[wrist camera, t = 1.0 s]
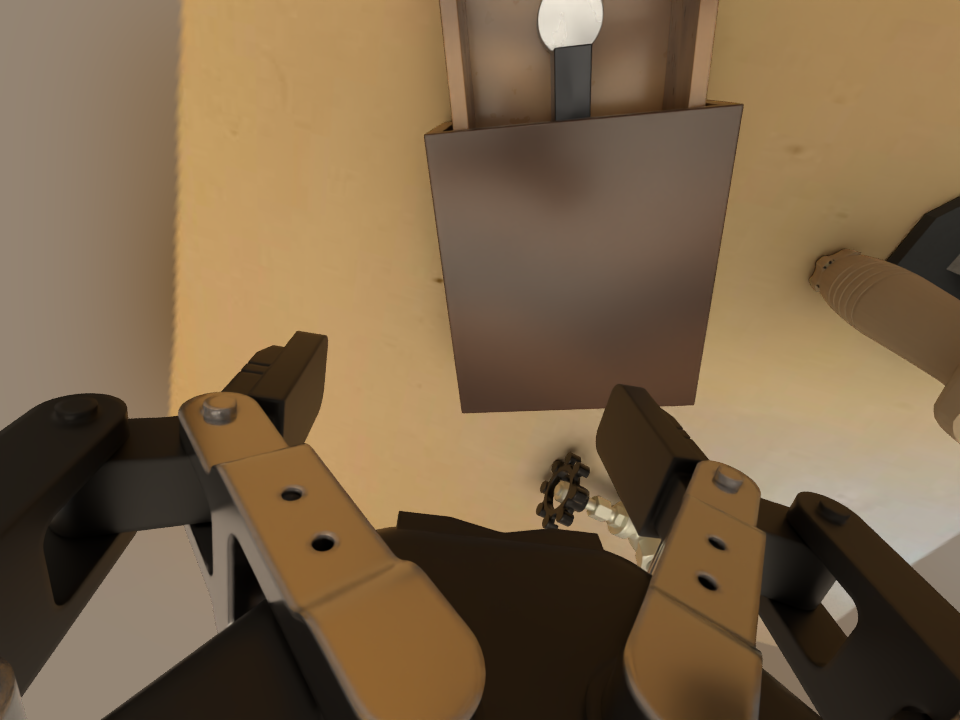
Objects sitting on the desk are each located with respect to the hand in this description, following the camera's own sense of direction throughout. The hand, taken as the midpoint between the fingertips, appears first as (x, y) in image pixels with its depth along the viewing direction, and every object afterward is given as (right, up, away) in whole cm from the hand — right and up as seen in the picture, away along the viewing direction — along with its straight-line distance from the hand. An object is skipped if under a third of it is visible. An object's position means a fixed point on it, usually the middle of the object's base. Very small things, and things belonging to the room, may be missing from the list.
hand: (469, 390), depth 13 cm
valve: (+12, -11, +31) cm, 35 cm away
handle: (+24, +7, +19) cm, 32 cm away
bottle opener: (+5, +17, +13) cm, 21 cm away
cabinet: (+6, +9, +19) cm, 22 cm away
